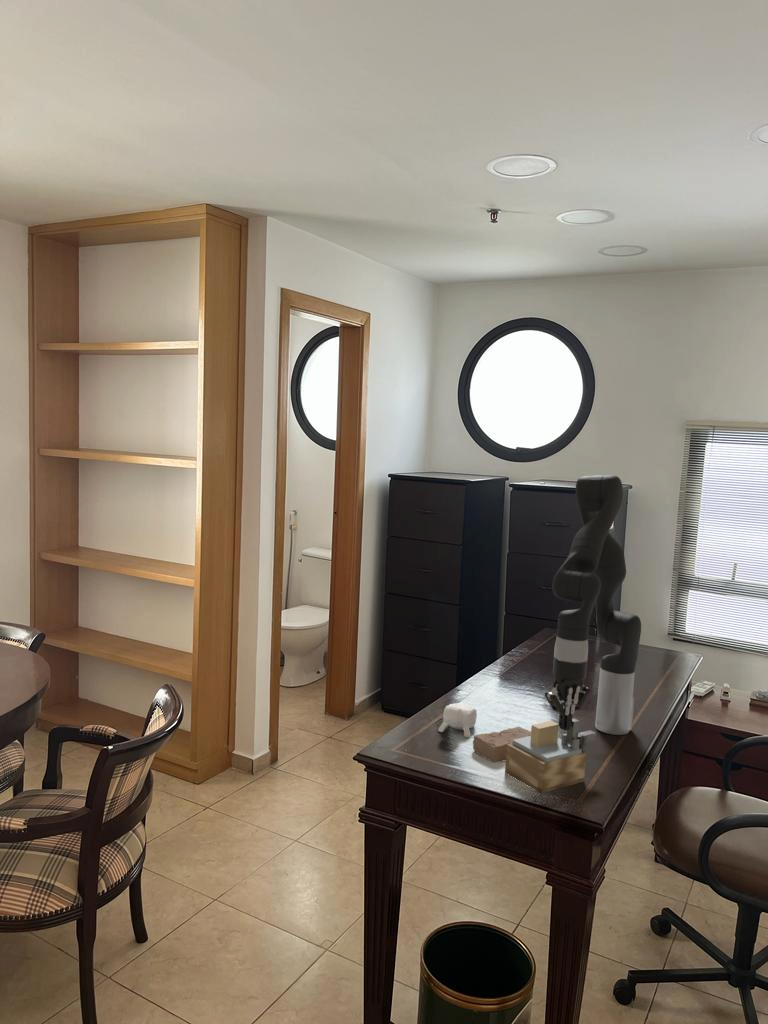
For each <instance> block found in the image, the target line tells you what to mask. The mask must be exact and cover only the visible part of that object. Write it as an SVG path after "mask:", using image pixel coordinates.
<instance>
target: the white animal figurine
mask: <svg viewBox="0 0 768 1024" xmlns="http://www.w3.org/2000/svg"><path fill="white" fill-rule="evenodd" d="M442 714H443V715H442V718H443V719H442V720H443V721H442V723H441V724H440V725H439V728H438V730H437V731H438V732H440V733H444V732H445V731H446V729H447V728H448V727H451V728H453V729H456V730H463V736H464V737H465V738H466V737H467V738H470V737H471V731H470V729H472V728H474V727H475V725H476V722H477V716H478V715H477V709H475V708H474V707H472V706H469V705H468V704H466V703H461V702H457V703H450V704H449V705H446V706H445V707H444V710H443V713H442Z"/></svg>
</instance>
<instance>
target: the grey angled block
mask: <svg viewBox="0 0 768 1024" xmlns="http://www.w3.org/2000/svg"><path fill="white" fill-rule="evenodd" d="M579 727H580V720H579V719H576V718H573V717H572V725H571V729H569V730H566V734H567V739H566V743H567V744H569V745H571V746H572V744H573V740H574V739H579V740H580V741H579V744H581V738H582V735H586V736H587V738H586V743H588V742H589V743H590V742H594V741H596V736H597V732H595V731H593V730H590V729H589V730H585V731H582V732H579V729H580V728H579Z"/></svg>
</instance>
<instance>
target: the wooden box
mask: <svg viewBox="0 0 768 1024" xmlns="http://www.w3.org/2000/svg"><path fill="white" fill-rule="evenodd" d="M586 738H587V736H586V735H582V738H581V744H579V748H580V749H582V753H581V754H577V755H573V756H570V757H566V758H562V759H558V760H554V761H550V762H545V761H542V760H541V759H539V758H537V757H535V756H533V755H531V754H529V753H527V752H526V751H524V750H522V749H520V748H518V747H517V746H515V745H513V744H507V753H506V760H505V766H504V767H505V769H504V773H505V774H506V773H507V774H506V775H508V774H509V775H508V776H510V777H511V776H512V777H511V778H513V777H514V778H513V779H515V778H516V779H517V780H516V779H515V780H516V781H518V780H519V781H518V782H520V781H521V782H520V783H522V782H523V783H525V784H526V785H525V784H524V785H525V786H527V785H528V786H530V787H531V788H530V787H529V788H530V789H532V788H533V789H535V790H536V791H535V790H534V791H535V792H537V791H538V792H537V793H539V794H540V793H542V794H545V793H548V792H551V791H552V792H553V791H555V790H559V789H563V788H565V787H566V788H567V787H569V786H573V785H576V784H579V783H584V782H585V778H586V777H585V775H586V774H585V773H586V763H587V752H586V749H587V748H586V747H587V742H586ZM523 783H522V784H523ZM528 786H527V787H528ZM533 789H532V790H533Z"/></svg>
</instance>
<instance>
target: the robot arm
mask: <svg viewBox="0 0 768 1024" xmlns="http://www.w3.org/2000/svg"><path fill="white" fill-rule="evenodd" d="M622 483H623V482H622V480H621V479H620V477H619V476H618V475H613V474H612V475H611V474H602V475H601V474H599V475H584V476H580V477H579V478H578V479H577V481H576V484H575V498H576V499H575V500H576V503H577V508H578V511H579V512H578V513H579V516H580V520H581V523H582V527H581V528H580V529H579V530H578V532H576V534H575V536H574V538H573V540H572V543H571V545H570V550H569V554H568V556H567V558H566V559H565V560H564V563H562V565H561V566H559V568H558V570H557V571H556V573H555V575H554V577H553V578H552V583H551V585H552V586H551V588H552V593H553V595H554V596H555V597H556V598H557V599H559V600H563V601H569V602H576V603H581V607H579V608H577V609H567V610H562V611H560V612H559V614H558V617H557V627H556V628H557V629H556V639H555V641H554V642H555V643H554V650H553V651H554V653H553V662H552V663H553V666H552V674H553V676H554V681H553V684H552V688H551V690H550V691H546V692H545V693H544V697H545V698H546V700H547V702H548V704H549V705H550V708H551V709H552V711H555V712H557V713H559V718H558V724H559V729H562V731H567V730H569V729H571V725H572V718H573V716H574V714H575V712H576V711H580V710H581V708H582V706H583V705H584V703H585V700H586V699H587V697H588V695H589V693H590V692H591V688H590V687H588V686H586V685H584V683H585V681H584V680H585V679H586V677H587V670H588V669H587V668H588V657H589V655H588V654H589V631H590V621H591V617H592V613H593V609H594V608H595V621H596V630H597V635H598V638H599V639H600V640H601V641H602V642H604V643H606V644H611V645H616V646H619V647H620V650H619V652H618V653H612V654H611V653H610V654H606V655H604V656H602V657H601V659H600V664H599V665H600V667H599V679H598V690H597V699H596V701H597V702H596V711H595V713H596V714H595V723H594V727H595V729H596V730H598V731H600V732H602V733H605V734H608V735H609V734H610V735H615V736H622V735H627V734H629V733H630V731H631V730H632V728H633V727H632V726H633V717H634V716H633V715H634V704H635V697H634V696H633V695H634V684H635V683H634V682H635V673H636V672H635V671H636V664H637V661H638V656H639V646H640V641H641V636H642V635H641V633H642V621H641V619H640V617H639V615H636V614H633V613H628V612H623V611H620V610H616V609H615V607H614V596H615V595H616V593H617V591H619V589H620V587H621V586H622V584H623V582H624V580H625V578H626V576H627V565H626V559H625V553H624V550H623V547H622V546H621V544H620V543H619V541H617V539H616V538H615V537H614V536H613V535H612V534H611V533H610V529H611V528H612V526H613V524H614V522H615V521H616V517H617V516H618V513H619V511H620V510H621V507H622V502H623V499H624V498H623V497H624V490H623V489H624V488H623V484H622Z"/></svg>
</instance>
